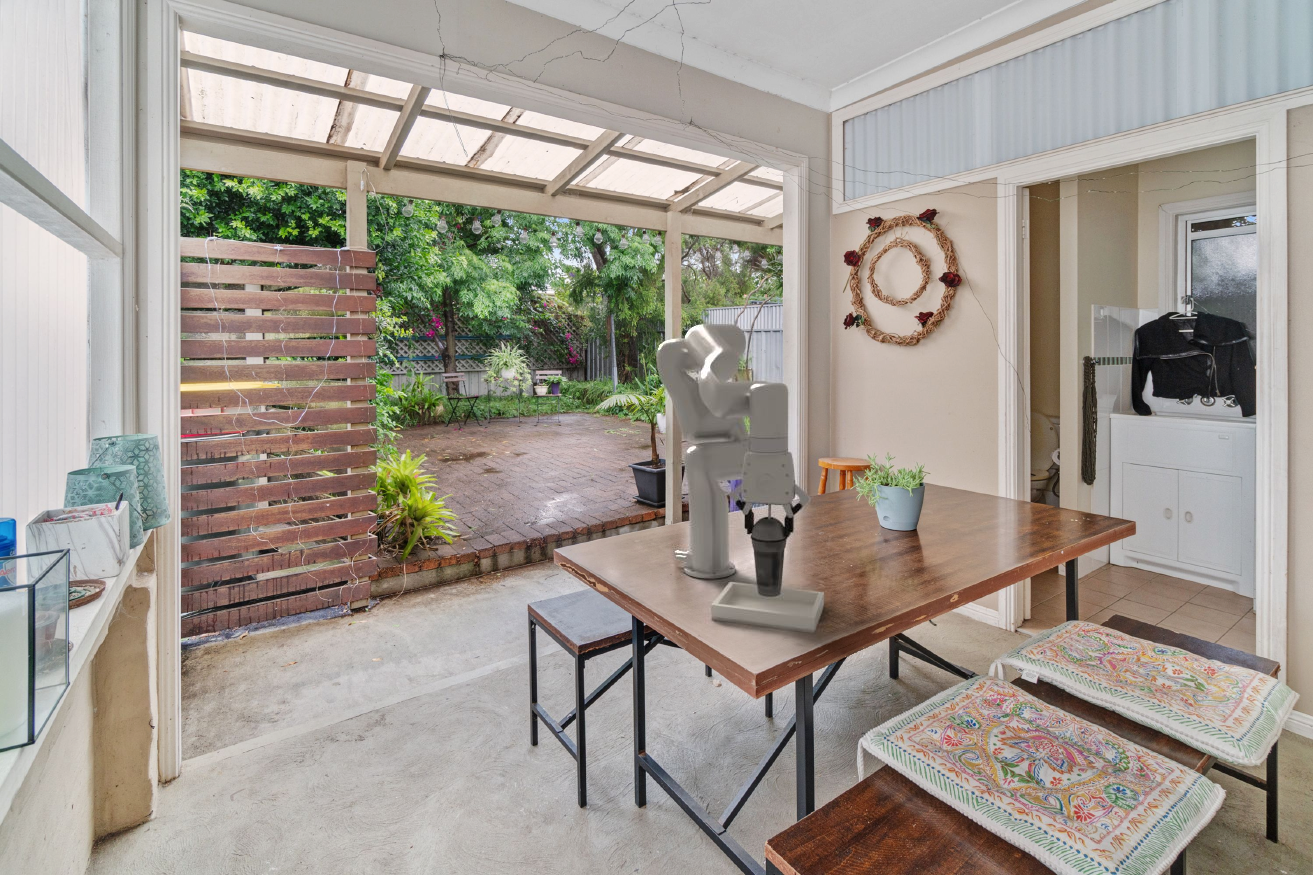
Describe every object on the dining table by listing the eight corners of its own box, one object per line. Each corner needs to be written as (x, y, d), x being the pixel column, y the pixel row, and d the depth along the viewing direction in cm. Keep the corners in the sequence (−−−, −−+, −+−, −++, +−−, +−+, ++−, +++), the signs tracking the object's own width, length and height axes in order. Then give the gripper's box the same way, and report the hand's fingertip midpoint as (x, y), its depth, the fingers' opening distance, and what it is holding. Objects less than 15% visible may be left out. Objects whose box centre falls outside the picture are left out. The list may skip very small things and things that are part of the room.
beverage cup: (782, 585, 131) (782, 491, 128) (791, 598, 123) (791, 498, 121) (747, 587, 130) (747, 492, 128) (754, 600, 123) (753, 499, 121)
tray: (711, 619, 125) (711, 604, 124) (730, 594, 138) (729, 581, 137) (814, 633, 117) (814, 617, 117) (823, 606, 130) (823, 592, 130)
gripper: (720, 446, 123) (721, 535, 125) (810, 449, 117) (810, 542, 119) (730, 442, 130) (731, 526, 132) (816, 444, 124) (815, 532, 126)
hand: (768, 533), depth 125 cm, fingers closed on beverage cup, 6 cm apart
